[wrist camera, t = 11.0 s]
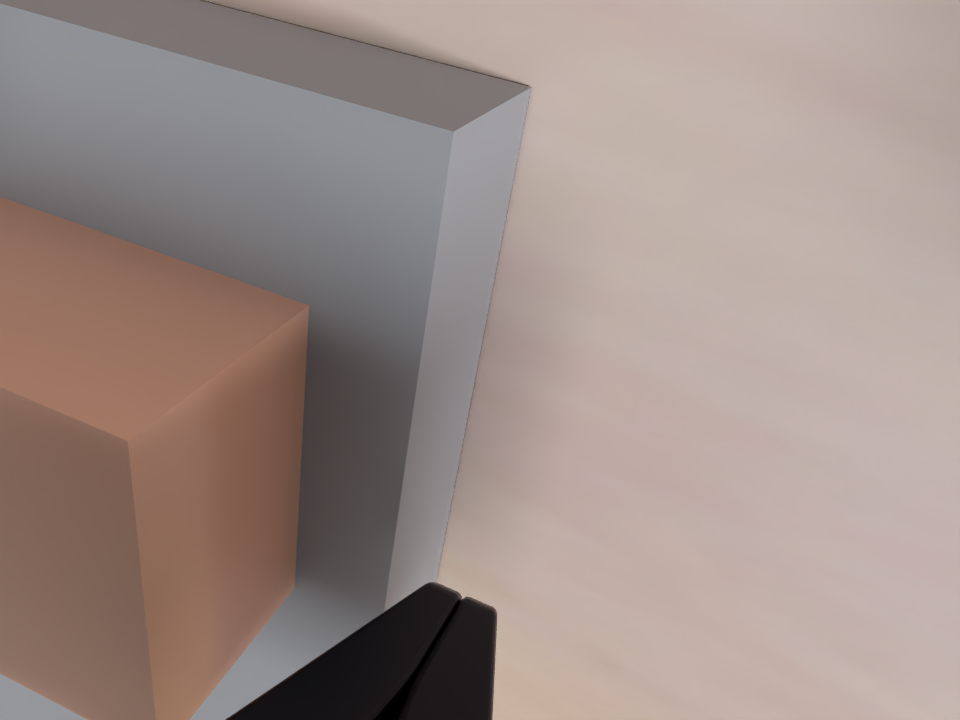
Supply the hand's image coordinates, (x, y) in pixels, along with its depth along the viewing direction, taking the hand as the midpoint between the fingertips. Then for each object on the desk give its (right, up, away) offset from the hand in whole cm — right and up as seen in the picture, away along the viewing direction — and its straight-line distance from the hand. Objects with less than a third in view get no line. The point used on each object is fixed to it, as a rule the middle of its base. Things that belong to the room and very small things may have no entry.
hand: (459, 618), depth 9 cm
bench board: (-6, +1, +7) cm, 9 cm away
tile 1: (-5, +2, +2) cm, 6 cm away
